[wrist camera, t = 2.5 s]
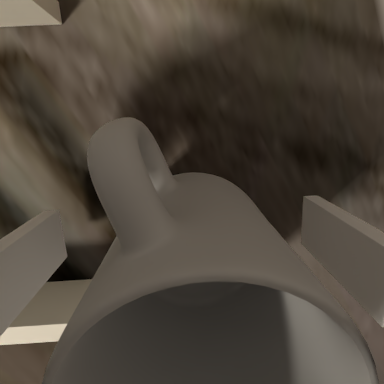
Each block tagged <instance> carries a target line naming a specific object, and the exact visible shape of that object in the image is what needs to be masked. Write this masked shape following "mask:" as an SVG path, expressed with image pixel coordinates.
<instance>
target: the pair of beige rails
mask: <svg viewBox="0 0 384 384" xmlns="http://www.w3.org/2000/svg"><path fill="white" fill-rule="evenodd" d="M59 24H62V20H61V13H60V7H59V2H58V1H57V0H0V27H10V26H34V25H59ZM91 281H92V279H87V280H72V281H56V282H46V283H45V284H44V285H43V286H42V288H41V289H40V290H39V291H38V292H37V293H36V295H35V296H34V297H33V298H32V299H31V301H30V302H29V303H28V304H27V305H26V307H25V308H24V309H23V310H22V311H21V312H20V314H19V315H18V316H17V317H16V318H15V320H14V321H13V322H12V323H11V324H10V326H9V327H8V328H7V329H6V330H5V332H4V333H3V334H2V335H1V336H0V345H9V344H24V343H38V342H53V341H59V339H60V337H61V335H62V333H63V331H64V329H65V327H66V325H67V324H68V322H69V320H70V318H71V317H72V315H73V313H74V311H75V309H76V308H77V306H78V304H79V302H80V300H81V299H82V297H83V295H84V293H85V291H86V290H87V288H88V286H89V284H90V282H91Z"/></svg>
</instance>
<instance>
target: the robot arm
mask: <svg viewBox="0 0 384 384" xmlns="http://www.w3.org/2000/svg"><path fill="white" fill-rule="evenodd" d="M301 244H302V245H303V246H304V247H305V248H306V249H307V250H308V251H309V252H310V253H311V254H312V255H313V256H314V257H315V258H316V259H317V260H318V261H319V262H320V263H321V264H322V265H323V266H324V267H325V269H326V270H327V271H328V272H329V273H330V274H331V275H332V276H333V277H334V278H335V279H336V280H337V281H338V282H339V283H340V284H341V285H342V286H343V287H344V288H345V289H346V290H347V291H348V292H349V293H350V294H351V295H352V296H353V298H354V299H355V300H356V301H357V302H358V303H359V304H360V305H361V306H362V307H363V308H364V309H365V310H366V311H367V312H368V313H369V314H370V315H371V316H372V317H373V318H374V319H375V320H376V321H377V322H378V323H379V324H380V325H381V327H384V232H383V231H381V230H379V229H377V228H375V227H373V226H372V225H370V224H368V223H366V222H364V221H363V220H361V219H359V218H357V217H355V216H354V215H352V214H350V213H348V212H346V211H345V210H343V209H341V208H339V207H337V206H336V205H334V204H332V203H330V202H328V201H327V200H325V199H323V198H321V197H319V196H318V195H314V196H303V212H302V231H301ZM66 258H67V251H66V246H65V240H64V234H63V228H62V223H61V217H60V211H59V210H45V211H43V212H41V213H40V214H38V215H37V216H35V217H34V218H32V219H31V220H29V221H28V222H26V223H25V224H23V225H22V226H20V227H19V228H17V229H16V230H14V231H12V232H11V233H9V234H8V235H6V236H5V237H3V238H2V239H0V336H1V335H2V334H3V333H4V332H5V330H6V329H7V328H8V327H9V326H10V324H11V323H12V322H13V321H14V320H15V318H16V317H17V316H18V315H19V314H20V312H21V311H22V310H23V309H24V308H25V307H26V305H27V304H28V303H29V302H30V301H31V299H32V298H33V297H34V296H35V295H36V293H37V292H38V291H39V290H40V289H41V288H42V286H43V285H44V284H45V283H46V282H47V280H48V279H49V278H50V277H51V276H52V274H53V273H54V272H55V271H56V270H57V269H58V267H59V266H60V265H61V264H62V263H63V261H64V260H65V259H66Z"/></svg>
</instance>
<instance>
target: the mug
mask: <svg viewBox="0 0 384 384" xmlns="http://www.w3.org/2000/svg"><path fill="white" fill-rule="evenodd" d="M87 162H88V169H89V173H90V176H91V180H92V183H93V185H94V188H95V190H96V193H97V195H98V197H99V200H100V202H101V204H102V206H103V208H104V210H105V212H106V214H107V216H108V218H109V220H110V222H111V224H112V226H113V228H114V230H115V232H116V235H117V236H116V238H115V239H114V241H113V243H112V245H111V247H110V248H109V250H108V252H107V254H106V256H105V257H104V259H103V261H102V263H101V265H100V266H99V268H98V270H97V272H96V273H95V275H94V277H93V279H92V281H91V282H90V284H89V286H88V288H87V290H86V291H85V293H84V295H83V297H82V299H81V300H80V302H79V304H78V306H77V308H76V309H75V311H74V313H73V315H72V317H71V318H70V320H69V322H68V324H67V325H66V327H65V329H64V331H63V333H62V335H61V337H60V339H59V341H58V343H57V345H56V347H55V349H54V351H53V354H52V356H51V358H50V360H49V362H48V365H47V368H46V371H45V374H44V378H43V382H42V384H379V381H378V376H377V371H376V366H375V363H374V360H373V357H372V355H371V352H370V350H369V347H368V345H367V342H366V341H365V339H364V337H363V336H362V334H361V332H360V331H359V329H358V327H357V326H356V324H355V323H354V321H353V320H352V318H351V317H350V316H349V315H348V313H347V312H346V311H345V310H344V309H343V307H342V306H341V305H340V304H339V303H338V301H337V300H336V299H335V298H334V297H333V296H332V294H331V293H330V292H329V291H328V290H327V289H326V287H325V286H324V285H323V284H322V283H321V282H320V280H319V279H318V278H317V277H316V276H315V275H314V273H313V272H312V271H311V270H310V269H309V268H308V267H307V265H306V264H305V263H304V262H303V261H302V260H301V258H300V257H299V256H298V255H297V254H296V253H295V251H294V250H293V249H292V248H291V247H290V246H289V244H288V243H287V242H286V241H285V240H284V239H283V238H282V236H281V235H280V234H279V233H278V232H277V231H276V229H275V228H274V227H273V226H272V225H271V224H270V222H269V221H268V220H267V219H266V218H265V216H264V215H263V214H262V213H261V211H260V210H259V209H258V207H257V206H256V205H255V204H254V202H253V201H252V200H251V199H250V198H249V197H248V195H247V194H246V193H245V192H243V191H242V190H241V189H240V188H239V187H237V186H236V185H234V184H233V183H232V182H230V181H228V180H226V179H224V178H222V177H218V176H215V175H212V174H207V173H197V172H191V173H182V174H177V175H173V176H172V174H171V172H170V169H169V167H168V165H167V163H166V161H165V158H164V156H163V154H162V152H161V150H160V148H159V146H158V144H157V142H156V140H155V138H154V137H153V135H152V134H151V132H150V131H149V129H148V128H147V127H146V126H145V125H144V123H142V122H141V121H139V120H137V119H135V118H131V117H123V118H119V119H115V120H112V121H110V122H108V123H106V124H104V125H103V126H101V127H100V128H99V129H98V130H97V131H96V132H95V133H94V134H93V135H92V137H91V139H90V141H89V145H88V151H87Z"/></svg>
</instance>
